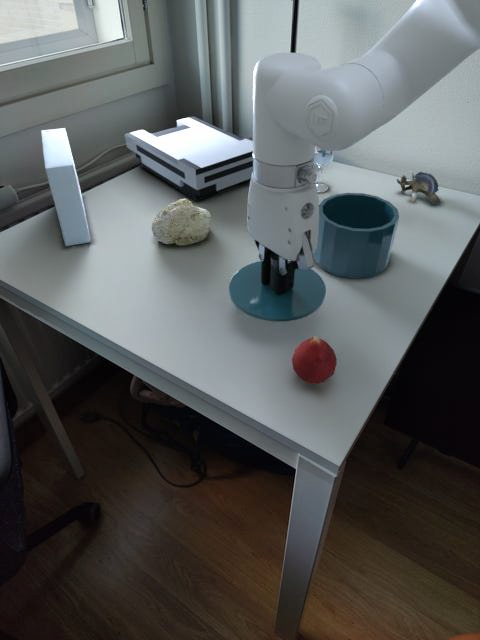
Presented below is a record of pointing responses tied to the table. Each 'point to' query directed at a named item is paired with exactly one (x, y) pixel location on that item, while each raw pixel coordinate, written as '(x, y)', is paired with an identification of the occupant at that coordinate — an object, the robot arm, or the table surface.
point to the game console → (194, 156)
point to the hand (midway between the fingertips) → (277, 285)
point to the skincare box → (65, 186)
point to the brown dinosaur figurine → (421, 186)
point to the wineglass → (322, 159)
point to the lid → (266, 302)
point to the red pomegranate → (314, 360)
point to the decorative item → (181, 223)
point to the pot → (355, 234)
